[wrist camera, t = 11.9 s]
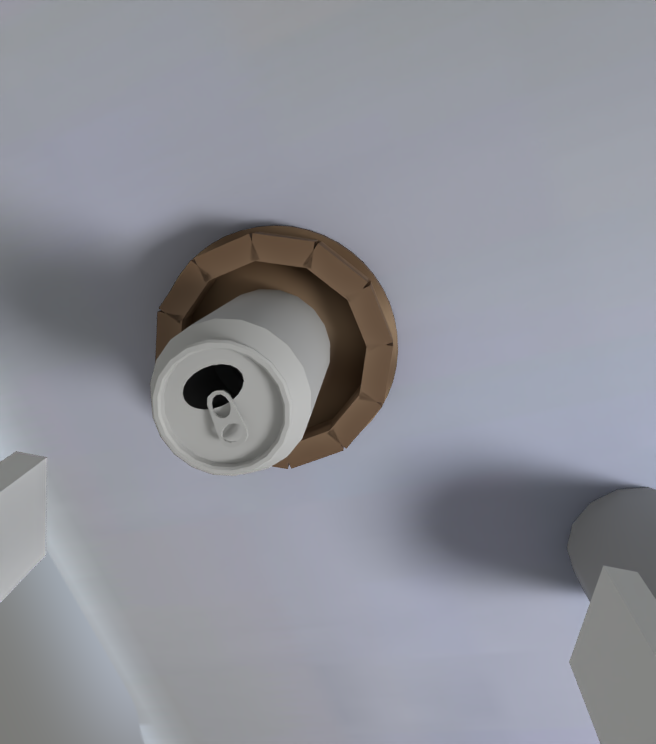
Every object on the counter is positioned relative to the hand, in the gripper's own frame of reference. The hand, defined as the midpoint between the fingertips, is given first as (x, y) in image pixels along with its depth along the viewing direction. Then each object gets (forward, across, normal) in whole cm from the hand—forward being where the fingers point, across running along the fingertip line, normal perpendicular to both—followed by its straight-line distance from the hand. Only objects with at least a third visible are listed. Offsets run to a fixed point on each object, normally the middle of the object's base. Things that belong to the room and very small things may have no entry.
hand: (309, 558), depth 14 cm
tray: (+24, -5, -2) cm, 24 cm away
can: (+23, -5, -2) cm, 24 cm away
